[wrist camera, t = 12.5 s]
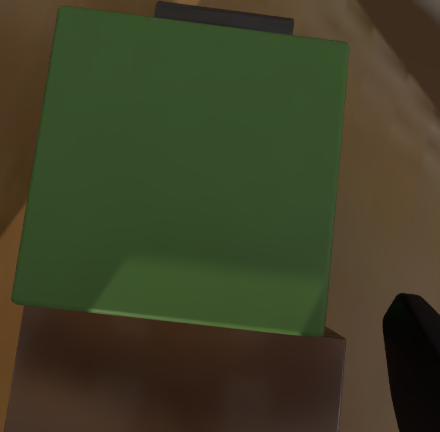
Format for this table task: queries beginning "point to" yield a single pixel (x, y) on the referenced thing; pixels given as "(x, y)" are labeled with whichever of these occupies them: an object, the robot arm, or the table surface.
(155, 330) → the cabinet
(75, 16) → the green beveled box
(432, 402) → the robot arm
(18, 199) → the table surface
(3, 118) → the table surface
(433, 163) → the table surface
